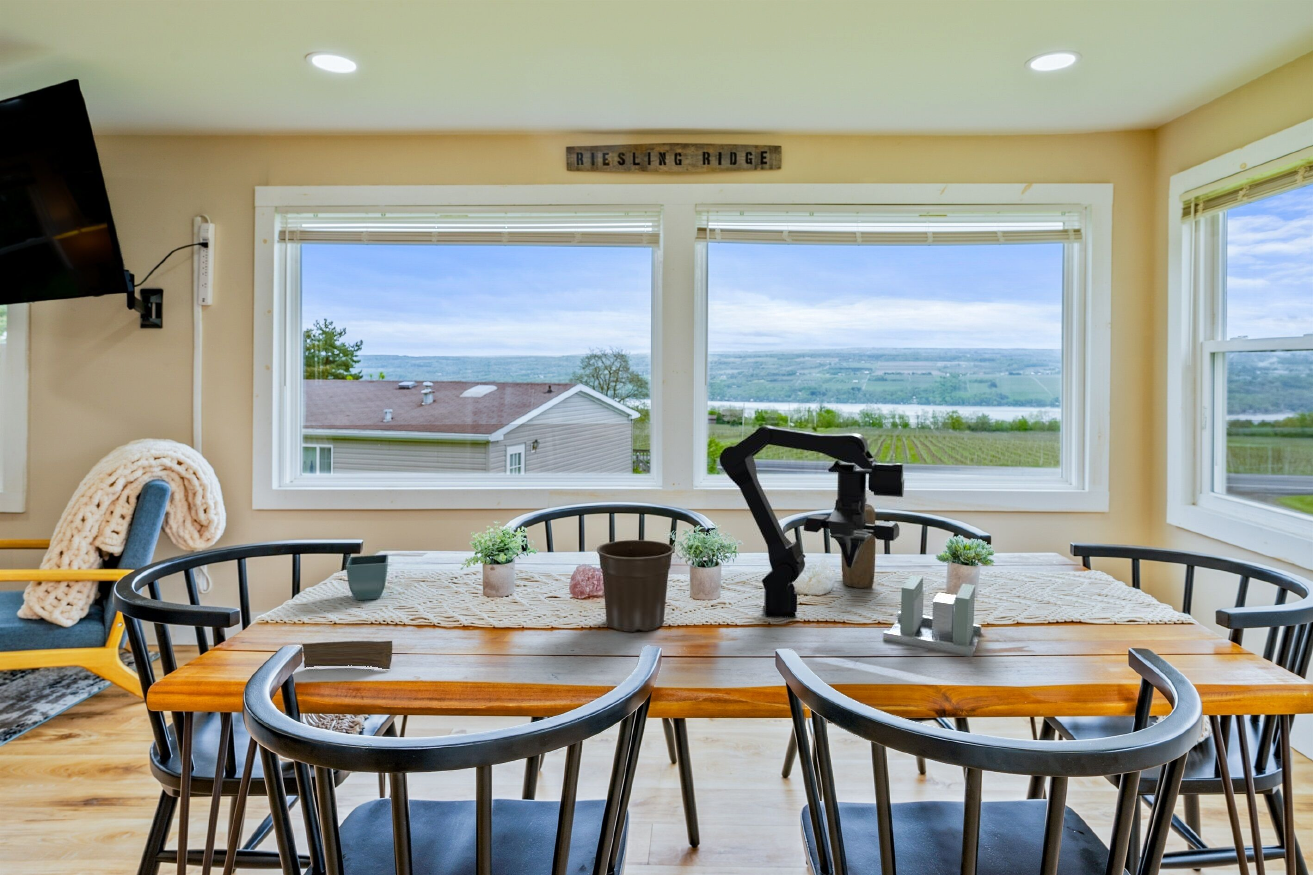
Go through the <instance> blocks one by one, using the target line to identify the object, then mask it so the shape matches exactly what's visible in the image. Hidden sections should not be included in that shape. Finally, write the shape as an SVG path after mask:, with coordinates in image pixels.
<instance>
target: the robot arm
mask: <svg viewBox="0 0 1313 875" xmlns="http://www.w3.org/2000/svg"><path fill="white" fill-rule="evenodd" d="M768 445H770V446H776V447H783V448H789V449H796V450H802V451H808V452H815V453H819V454H823V455H826V456H827V457H830V458H831V459H834V460H835V461H834V463H833V464H832V465H831V466H830V467H829V468H828V469H827V471H828V472H829V473H837V489H836V490H837V495H836V496H837V497H836V499H835V503H834V504H835V506H834V509H833V511H832V512H831V513H830V515H825V514H823V515H822V514H815V513H814V514H811V515H809V516H807V517H806V518H805V519H804V521H803V531H805V532H809V533H811V532H812V533H819V532H820V531H821V530H822V529H826V530H827V529H828V530H829V534H830V535H829V536H830V538H831V539H834V540H835V541H836V542H837V544H838V545H839V547H840V550H842V553H843V556H844V559H845V562H846V565H847V567H848V568H852V566H853V564H854V562H855V559H856V557H857V554H858V552H859V550H860V547H861V546H862V544H863V542H864V541H866V540H867V539H869V538H870V537H871V534H873V535H874V537H875V540H877V541H878V540H879V541H887V542H888V541H889V542H894V541H895V540H896V539H897V538H898V537H900V526H899V524H898V523H897V522H892V521H884V520H883V521H882V520H879V521H878V522H877V523H875V525H871V524H866V517H865V504H867V498H868V497H867V496H866V495H867V491H866V490H867V486H868V490H869V491H870V493H873V496H879V497H895V498H903V497H904V491H905V477H904V464H903V463H897V462H896V463H878V461H877V460H876V458H875V457H874V456H873V455H872V453H871V452H870V450H869V444H868V441H867V438H865V437H864V436H863V435H862V434H860V433H855V432H853V433H851V432H850V433H848V432H847V433H831V434H830V433H829V434H828V433H825V434H823V433H817V432H816V433H815V432H810V431H809V432H808V431H802V430H795V429H790V428H782V427H775V426H772V425H768V424H767V425H766V424H765V425H763V426H760V427H758V428H757V429H756V430H755V431H754V432H752V434H750V435H748V436H747V437H745V438H744V439H743V440H742V441H739V443H736V444H733V445H730V446H726V447H725V448H723V450H722V451H721V453H720V455H719V463H720V466H721V468H722V469H723V470H724V472H725V474H727V476H728V478H729V479H730V480H732V482H733V483H735V485H736V486H737V487H738V488H739V490H740V491H741V494H742V496H743V498H744V500H745V503H746V504H747V506H748V508H749V511H750V513H751V515H752V516H753V519H754V522H756V523H755V524H756V525H757V527H758V529H759V532H760V534H761V535H762V537H763V540H764V541H765V544H766V546H767V553H768V561H769V565H770V568H771V570H769V573H767V575H766V576H764V578H763V579H762V580H761V583H762V586H763V588H764V592H763V593H764V596H763V598H764V599H763V600H764V602H763V603H764V604H763V606H762V609H763V613H764V616H765V617H766V618H792V619H793V618H796V617H797V616H796V613H797V612H798V593H797V591H796V590H795V588H796V587H795V585H794V584H793V583H794V582H796V580H797V579H798V578H799V577H800V575H801V574H802V573H803V572H804V570H805V568H806V561H805V558H806V555H805V554H804V553H803V551H802V550H801V547H800V544H799V541H798V540H794V541H793V542H791V541H790V540H789V538H788V537H786V535H785V533H784V531H783V528H782V526H781V525H780V523H779V521H778V519H777V516H776V515H775V512H774V510H773V509H772V508H773V507H772V506H771V504H770V502H769V500H768V498H767V496H766V494H765V492H764V490H763V488H762V485H761V483H760V482H759V480H758V475H757V474H758V473H757V466H756V462H755V458H754V457H755V456H756V455H757V454H758V453H760V452H761V451H762V450H764V448H766V447H767V446H768ZM842 462H844V463H842ZM857 466H858V467H859V468H857ZM867 475H868V482H867ZM867 483H868V484H867ZM853 534H854V536H852V535H853ZM851 536H852V537H851Z"/></svg>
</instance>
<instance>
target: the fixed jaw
mask: <svg viewBox="0 0 1313 875" xmlns="http://www.w3.org/2000/svg"><path fill="white" fill-rule="evenodd" d="M955 595H956V597H955V609H954V623H953V641H954V642H953V643H956V644H961V645H967V646H969V644H970V641H971V639H972V636H973V626H974V624H975V623H974V622H975V619H974V618H975V601H976V600H975V598H976V597H975V596H976V585H975V584H968V583H962V585H961V586H960V587H959V590H958V591H957V593H956V594H955Z"/></svg>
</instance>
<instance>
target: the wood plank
mask: <svg viewBox="0 0 1313 875" xmlns="http://www.w3.org/2000/svg"><path fill="white" fill-rule="evenodd" d="M301 646H302V650H303V652H302V654H303V658H304V660H303V667H304V668H306V667H314V666H348V665H349V666H351V665H352V666H366V667H367V666H369V667H370V666H372V667H378V668H382V669H390V670H391V664H392V659H393V640H384V641H383V640H381V641H374V640H350V641H349V640H345V641H328V642H327V641H325V642H311V643H310V642H309V643H302V645H301ZM304 668H303V669H304Z"/></svg>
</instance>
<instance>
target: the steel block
mask: <svg viewBox="0 0 1313 875" xmlns="http://www.w3.org/2000/svg"><path fill="white" fill-rule="evenodd" d="M956 595H957V594H949V593H942V592H937V594H936V596H935V597H934V599H933V601H932V616H931V617H932V639H934V640H939V641H945V642H950V643H952V641H953V623H954V609H955V597H956Z"/></svg>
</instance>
